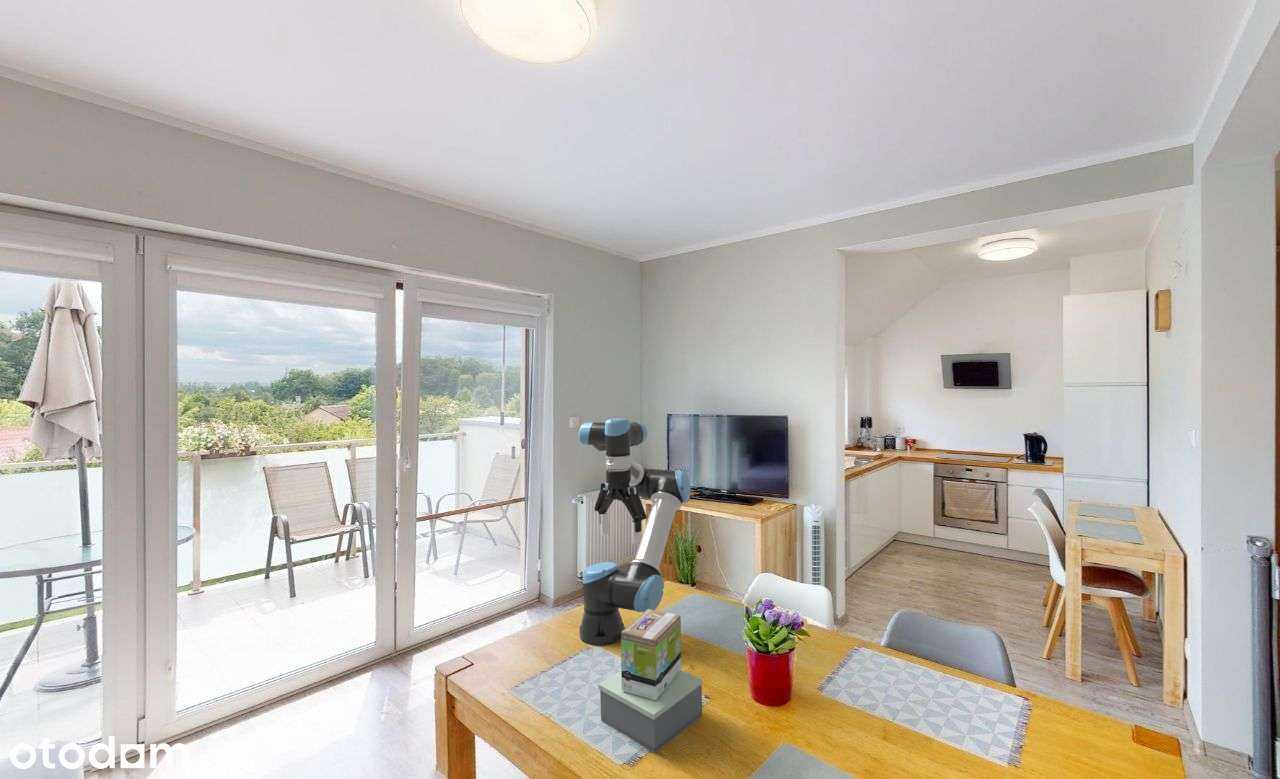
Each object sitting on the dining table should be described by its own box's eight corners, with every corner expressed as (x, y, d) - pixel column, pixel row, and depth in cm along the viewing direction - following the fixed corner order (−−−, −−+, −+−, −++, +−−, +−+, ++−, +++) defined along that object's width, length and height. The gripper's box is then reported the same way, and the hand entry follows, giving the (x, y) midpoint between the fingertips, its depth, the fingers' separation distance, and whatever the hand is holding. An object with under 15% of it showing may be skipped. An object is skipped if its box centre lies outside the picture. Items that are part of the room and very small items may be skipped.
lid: (647, 658, 145) (647, 654, 145) (702, 683, 132) (702, 678, 132) (598, 688, 131) (598, 684, 131) (653, 719, 119) (653, 714, 119)
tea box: (658, 702, 123) (656, 639, 123) (620, 691, 128) (618, 631, 127) (682, 669, 136) (681, 613, 136) (648, 661, 141) (646, 606, 141)
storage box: (649, 688, 145) (648, 659, 144) (702, 715, 132) (701, 684, 132) (601, 720, 131) (600, 688, 131) (655, 753, 119) (654, 718, 119)
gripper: (582, 467, 166) (584, 533, 167) (639, 475, 149) (641, 549, 150) (599, 464, 172) (601, 528, 172) (657, 471, 155) (659, 543, 155)
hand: (620, 538), depth 161 cm, fingers open, 13 cm apart
